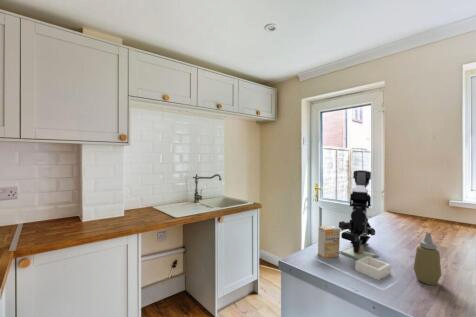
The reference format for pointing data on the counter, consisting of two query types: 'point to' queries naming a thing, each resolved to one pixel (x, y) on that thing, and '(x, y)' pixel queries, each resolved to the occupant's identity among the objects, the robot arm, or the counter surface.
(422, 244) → the squeeze bottle
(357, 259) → the mat
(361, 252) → the lid
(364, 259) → the white box
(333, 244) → the supplement box
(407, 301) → the counter surface
